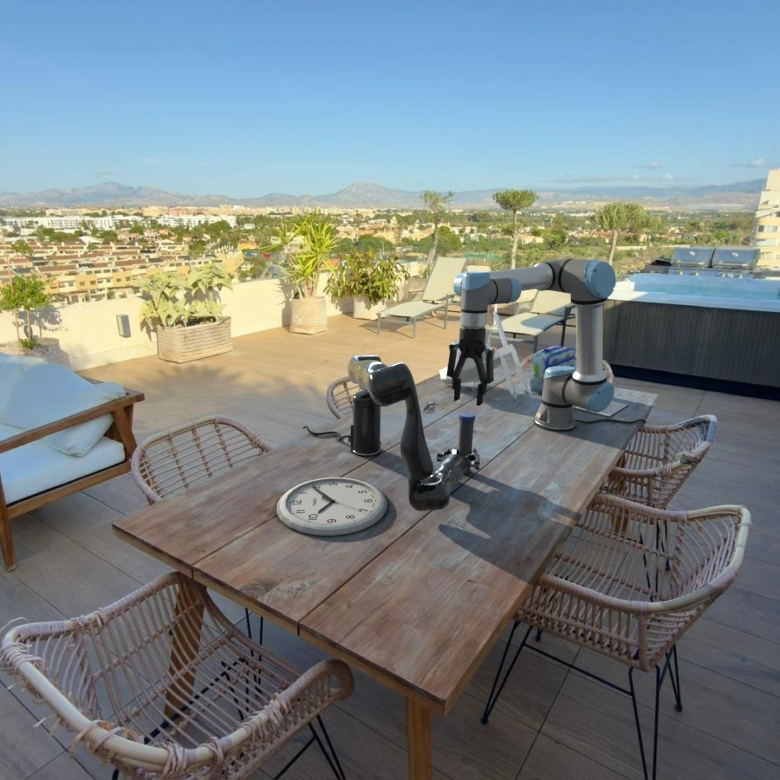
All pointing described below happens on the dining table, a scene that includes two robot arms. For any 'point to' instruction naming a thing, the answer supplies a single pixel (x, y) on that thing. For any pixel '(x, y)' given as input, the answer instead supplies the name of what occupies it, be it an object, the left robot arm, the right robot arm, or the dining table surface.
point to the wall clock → (331, 506)
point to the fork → (430, 403)
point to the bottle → (465, 439)
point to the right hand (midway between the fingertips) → (468, 402)
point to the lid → (467, 417)
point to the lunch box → (549, 364)
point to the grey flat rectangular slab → (608, 408)
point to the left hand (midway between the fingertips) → (467, 449)
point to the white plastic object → (500, 356)
